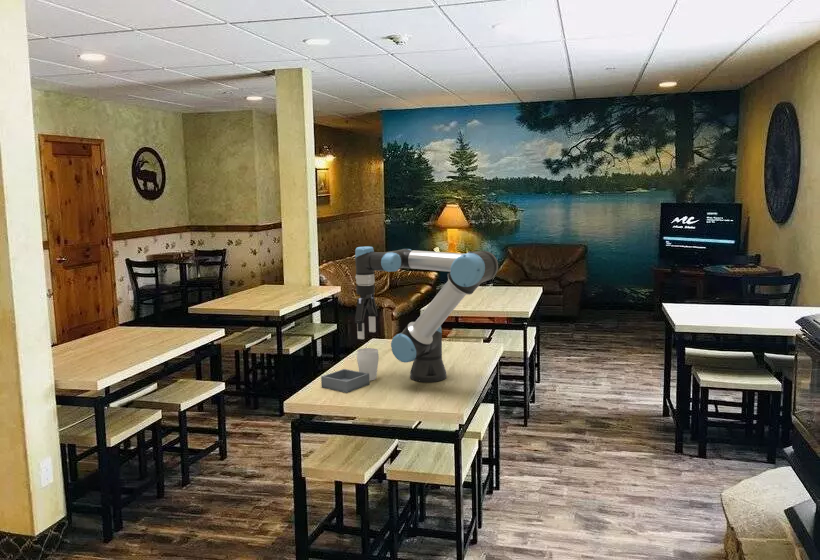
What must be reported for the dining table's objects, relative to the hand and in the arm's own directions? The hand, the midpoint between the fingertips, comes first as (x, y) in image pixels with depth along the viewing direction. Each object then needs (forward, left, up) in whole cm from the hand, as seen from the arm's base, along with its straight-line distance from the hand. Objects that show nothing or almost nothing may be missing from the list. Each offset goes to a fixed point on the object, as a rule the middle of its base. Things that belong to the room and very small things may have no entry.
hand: (366, 335), depth 279 cm
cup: (0, 0, -19) cm, 19 cm away
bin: (+1, +13, -18) cm, 23 cm away
